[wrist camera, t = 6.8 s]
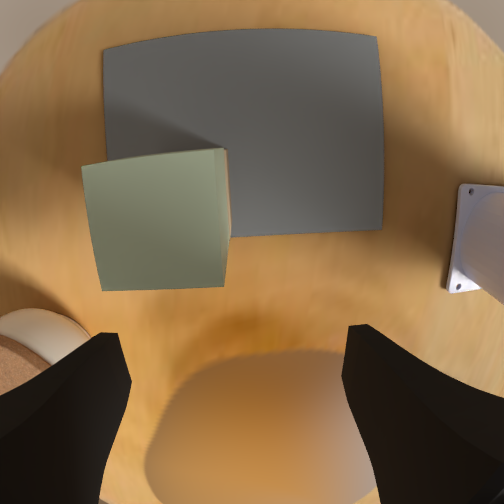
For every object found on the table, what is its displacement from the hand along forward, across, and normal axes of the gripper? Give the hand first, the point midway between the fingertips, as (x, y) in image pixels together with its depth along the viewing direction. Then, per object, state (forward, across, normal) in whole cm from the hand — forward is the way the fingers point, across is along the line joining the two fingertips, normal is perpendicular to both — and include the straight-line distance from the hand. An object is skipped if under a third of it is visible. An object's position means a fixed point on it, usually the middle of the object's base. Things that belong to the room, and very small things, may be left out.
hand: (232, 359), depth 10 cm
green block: (+6, +2, -4) cm, 7 cm away
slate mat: (+10, -1, -7) cm, 12 cm away
